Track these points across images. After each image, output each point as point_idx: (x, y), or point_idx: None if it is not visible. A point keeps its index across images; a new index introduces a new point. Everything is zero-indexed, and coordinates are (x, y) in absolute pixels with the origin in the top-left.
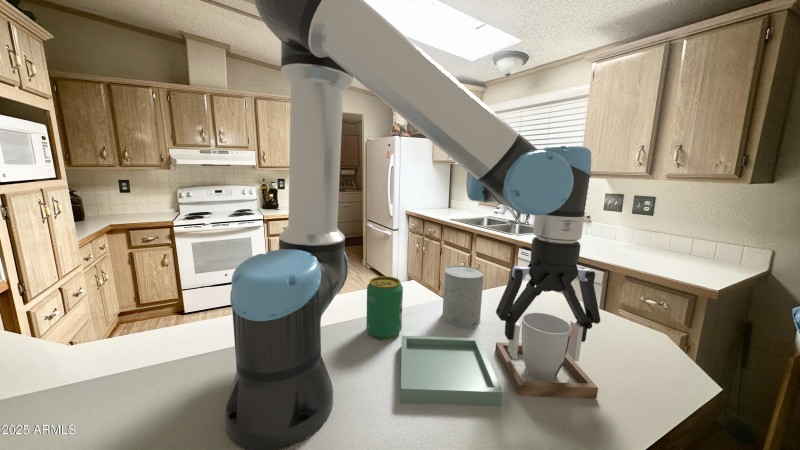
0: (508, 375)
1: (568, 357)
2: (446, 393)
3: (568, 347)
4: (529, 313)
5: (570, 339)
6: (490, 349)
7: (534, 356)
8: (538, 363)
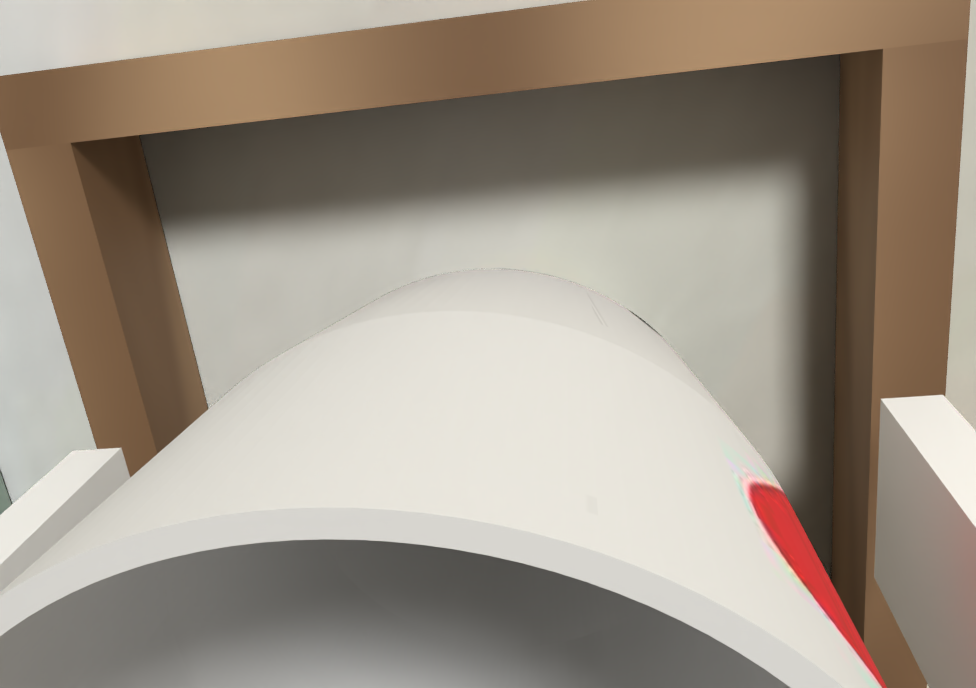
0: None
1: (912, 315)
2: None
3: (910, 474)
4: (53, 591)
5: (971, 591)
6: (4, 31)
7: None
8: (385, 685)
